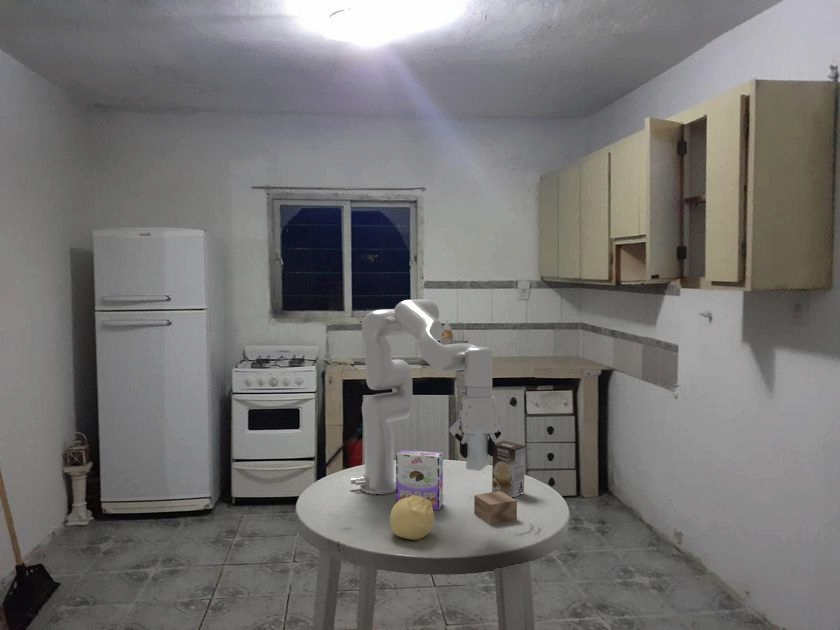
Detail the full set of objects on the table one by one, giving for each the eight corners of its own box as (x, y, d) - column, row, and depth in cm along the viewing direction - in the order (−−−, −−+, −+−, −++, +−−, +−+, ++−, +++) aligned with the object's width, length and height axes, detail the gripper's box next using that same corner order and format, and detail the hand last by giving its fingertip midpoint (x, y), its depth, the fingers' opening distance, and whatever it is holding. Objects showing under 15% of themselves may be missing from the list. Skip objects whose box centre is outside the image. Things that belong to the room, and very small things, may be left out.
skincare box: (473, 463, 183) (474, 421, 182) (488, 465, 181) (488, 423, 180) (465, 469, 178) (465, 425, 177) (479, 471, 176) (480, 427, 175)
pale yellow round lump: (430, 545, 171) (430, 505, 170) (385, 542, 173) (386, 502, 172) (437, 528, 182) (437, 491, 182) (395, 525, 184) (395, 488, 184)
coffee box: (490, 491, 214) (491, 443, 213) (502, 487, 218) (502, 440, 217) (514, 498, 207) (514, 448, 206) (525, 493, 212) (526, 445, 211)
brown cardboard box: (489, 525, 185) (490, 504, 185) (474, 514, 194) (474, 495, 193) (516, 520, 189) (516, 500, 189) (500, 510, 197) (500, 490, 197)
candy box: (443, 504, 202) (443, 451, 201) (439, 510, 196) (439, 457, 195) (401, 499, 206) (401, 448, 205) (395, 506, 200) (395, 453, 199)
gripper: (452, 395, 172) (451, 461, 173) (513, 393, 177) (511, 457, 178) (443, 390, 179) (442, 454, 181) (502, 388, 184) (501, 450, 185)
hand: (477, 455), depth 179 cm, fingers closed on skincare box, 7 cm apart
